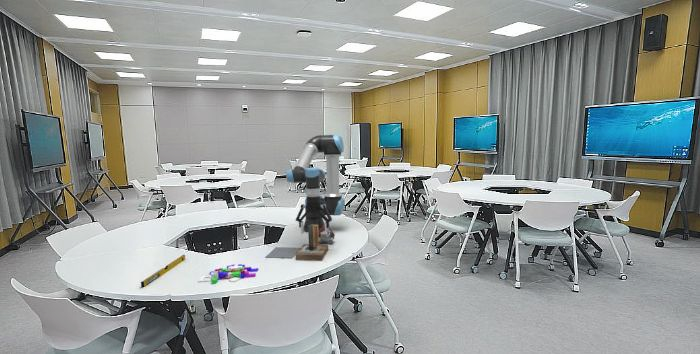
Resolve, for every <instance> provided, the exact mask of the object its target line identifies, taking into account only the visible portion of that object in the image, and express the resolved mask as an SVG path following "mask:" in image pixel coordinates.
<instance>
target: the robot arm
mask: <svg viewBox="0 0 700 354" xmlns="http://www.w3.org/2000/svg"><path fill="white" fill-rule="evenodd" d="M344 147H345V146H344V141H343V137H342V136H341V135H339V134H327V135H326V134H320V135H315V136H313V137H312V138H310V139H308V140H307V141H306V143H305V144H304V146H303V151H302V153H301V155H300V157H299V159H298V160H297V162H296V164H295V166H294V167H293V169H288V170H287V171H286V173H285V176H286V181H287V182H288V183H290V184H291V183H293V184H299V183H300V184H302V183H304V184H305V195H306V197H305V200H304V203H302V204H300V208H299V209H300V210H299V211H298V214H297V215H296V218H295V222H298V227H299V228H300V234H301V235H303V234H304V233H305V232H306V233H308V225H311V224H313V225H318V230H320V229H321V228H322V227H323V226H324V225H325V234H327V230H328V229H327V228H330V222H332V221H333V217H332V216H334V217H336V216H342V214H343V212H344V209H345V198H344V197H343V195H342V194H341V193H340V157H341V156H342V153H343V152H344V150H345V149H344ZM318 153H323V156H324V157H325V165H326V166H325V167H326V172H325V171H324V170H323V169H320V168H319V167H310V165H311V163H312V160H313V159H314V157H315V156H316V155H317V154H318ZM325 179H326V193H325V195H324V197H323V196H322V195H320V194H321V190H320V189H321V187H320V185H321V184H320V183H322V182H323V181H324V180H325ZM304 210H305V211H304ZM303 211H304V214H303V215H302V213H303ZM301 215H302V216H301ZM303 220H304V221H303ZM323 230H324V229H323Z"/></svg>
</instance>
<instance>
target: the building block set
mask: <svg viewBox="0 0 700 354" xmlns="http://www.w3.org/2000/svg"><path fill="white" fill-rule="evenodd" d="M256 272H259V268H258V267H256V268H252V266H246V264H242V263H240V264H231V265H226V268H222V267H220V268H216V269H214V270H213V271H210V272H209V273H208V274H209V275H205V276H204V275H202V276H200V278H199V279H198V281H197V282H198V283H208V282H211V284H212V285H216V284H217V283H218V281H219V280H227V279H228V281H229V282H231V283H236V282H238V281H240V280H241V279H245V278H256V275H257V274H256Z"/></svg>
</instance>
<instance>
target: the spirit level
mask: <svg viewBox="0 0 700 354" xmlns="http://www.w3.org/2000/svg"><path fill="white" fill-rule="evenodd" d="M184 261H186V255H185V254H182V255H181V256H179V257H177V258H176V259H174V260H173V261H171V262H170V263H168V264H167V265H165V267H163V268H160V269H159V270H157V271H156V272H155V273H153V274H152V275H150V276H148V277H147V278H145V279H144V280H142V281H140V287H145V288H146V287H147V286H149V285H150V284H152V283H154V281H156V280H157V279H159V278H160V277H162V276H164V275H165V274H166V273H168V272H170V271H172V269H174V268H175V267H176V266H178V265H180V264H181V263H182V262H184Z"/></svg>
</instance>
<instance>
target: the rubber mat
mask: <svg viewBox="0 0 700 354" xmlns="http://www.w3.org/2000/svg"><path fill="white" fill-rule="evenodd" d="M300 249H301V247H287V246H286V247H284V246H283V247H281V246H280V247H278V246H276V247H275V246H274V248H273V249H272V250H271V251H270V252H268V253H267V255H265V256H264V258H266V259H268V258H270V259H293V258H294V257H296V256H295V254H296V253H297V252H298V251H299V250H300Z"/></svg>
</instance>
